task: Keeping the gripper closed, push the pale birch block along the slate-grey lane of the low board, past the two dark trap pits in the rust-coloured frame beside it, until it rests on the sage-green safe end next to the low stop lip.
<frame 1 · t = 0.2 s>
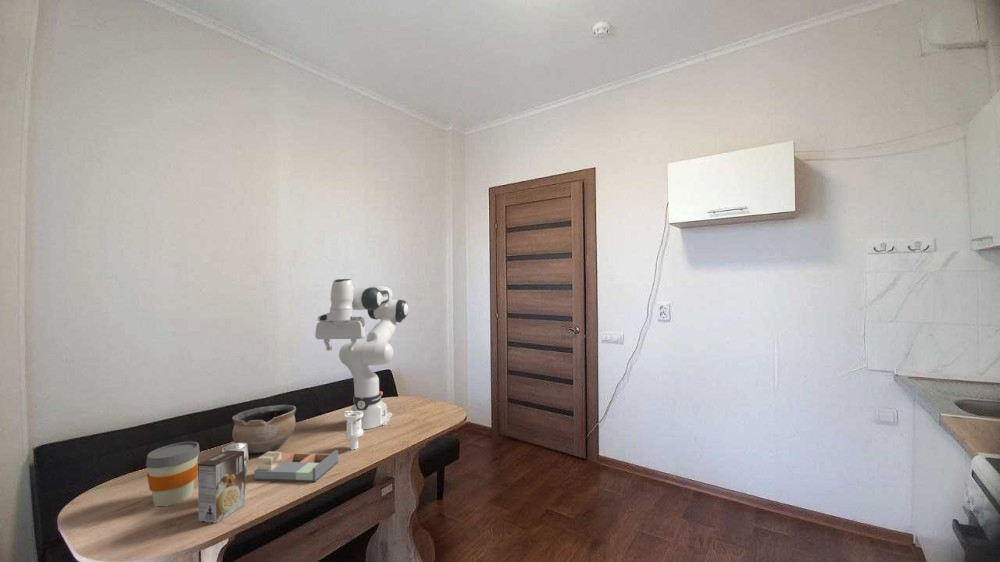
hand: (339, 350, 152), 39 cm above the table, tool pointing down, fingers open, 8 cm apart
reusable coffee cup: (173, 499, 114), on the table
birch block: (269, 466, 127), point 3 cm above the table, touching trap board
coffee box: (222, 513, 106), on the table
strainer: (354, 448, 148), on the table
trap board: (298, 470, 130), on the table
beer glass: (235, 495, 115), on the table
ceramic bowl: (265, 449, 150), on the table
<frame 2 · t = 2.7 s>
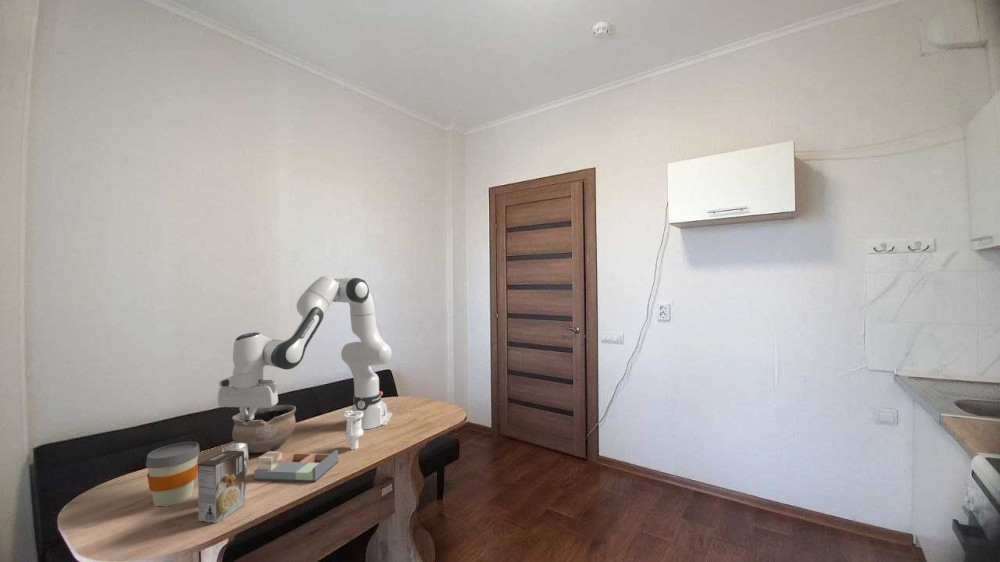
hand: (248, 419, 129), 19 cm above the table, tool pointing down, fingers closed
nothing on the table moved.
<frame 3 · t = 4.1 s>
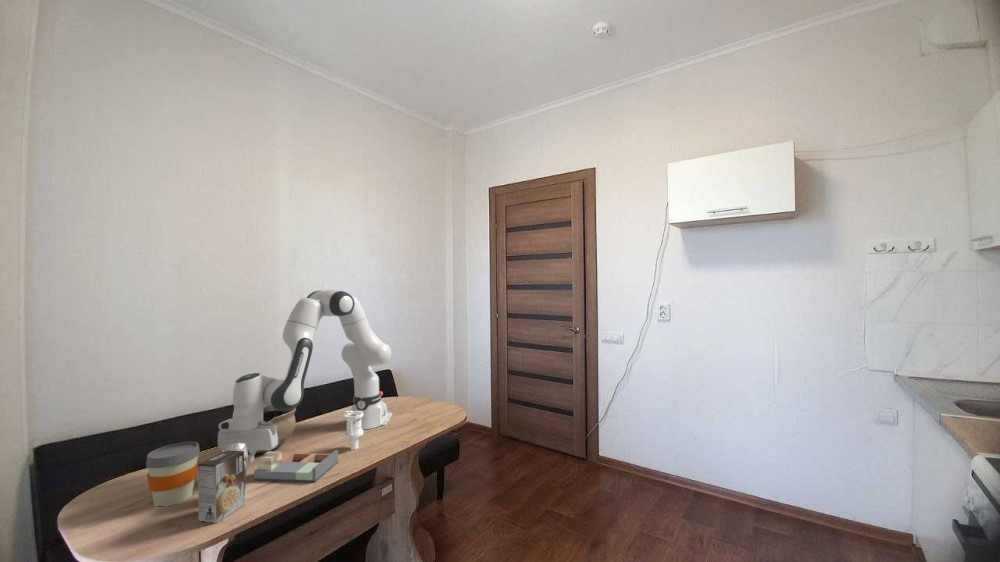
hand: (248, 461, 128), 5 cm above the table, tool pointing down, fingers closed
nothing on the table moved.
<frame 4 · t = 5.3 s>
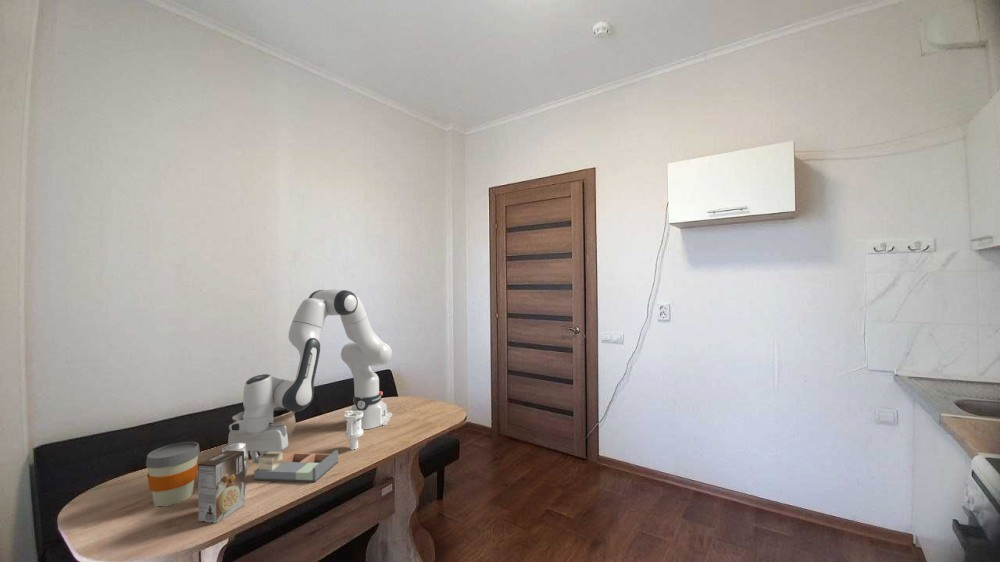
hand: (258, 462, 128), 4 cm above the table, tool pointing down, fingers closed
birch block: (270, 466, 127), point 3 cm above the table, touching gripper, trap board
everything else where it was.
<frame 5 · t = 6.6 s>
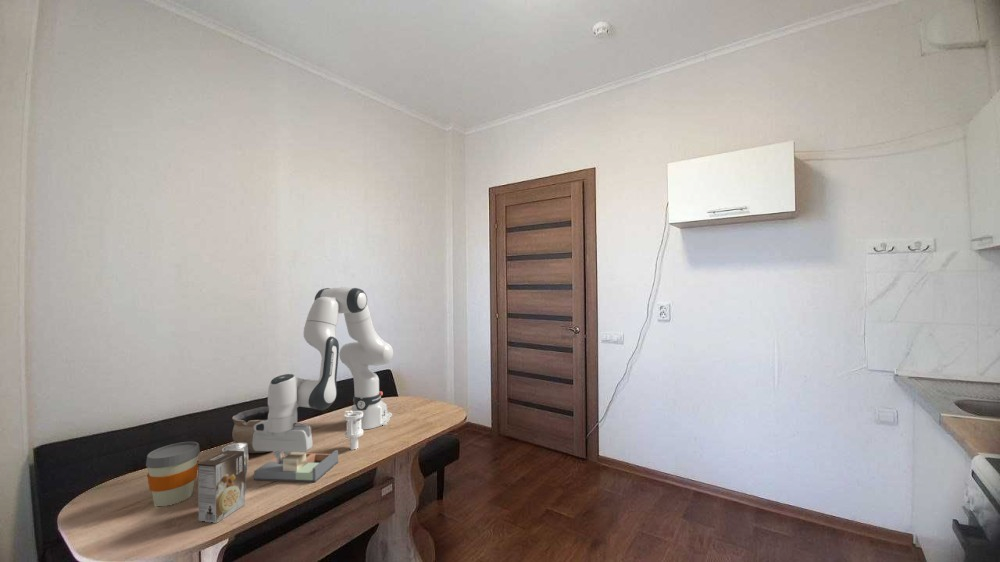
hand: (282, 463, 127), 4 cm above the table, tool pointing down, fingers closed
birch block: (294, 467, 126), point 3 cm above the table, touching gripper, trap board
everything else where it was.
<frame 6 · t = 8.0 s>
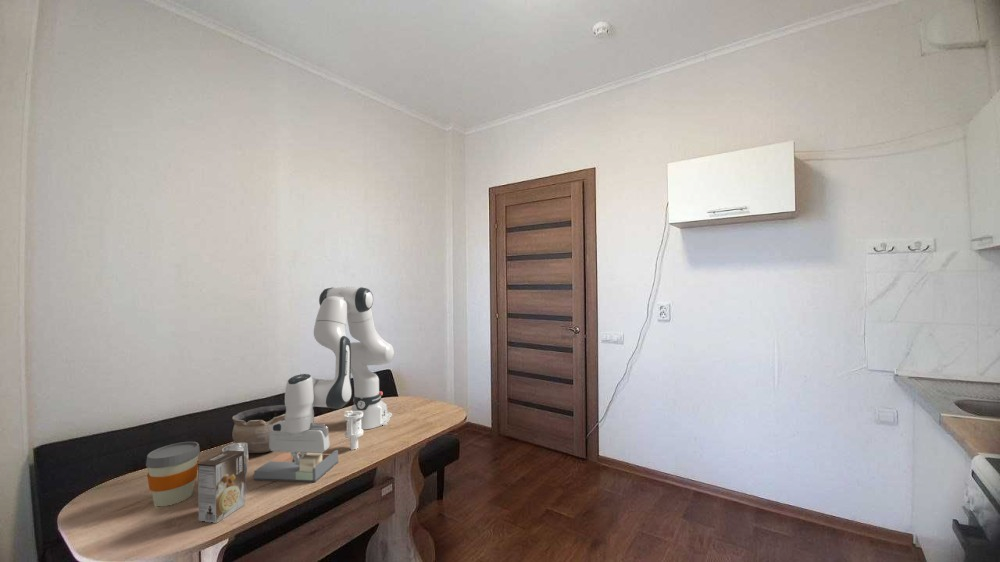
hand: (299, 463, 126), 4 cm above the table, tool pointing down, fingers closed
birch block: (311, 468, 125), point 3 cm above the table, touching gripper, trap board
everything else where it was.
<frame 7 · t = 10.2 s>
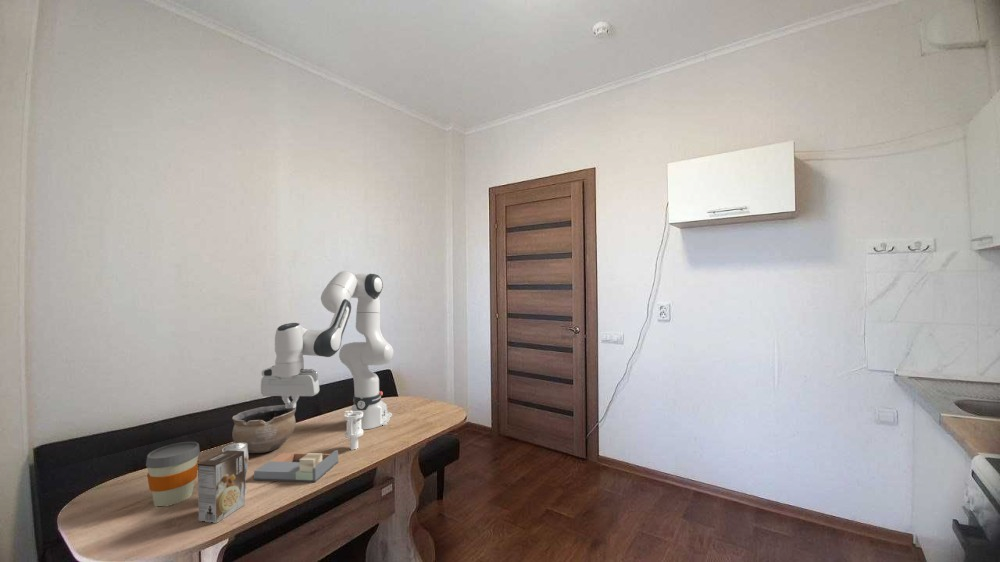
hand: (290, 407, 131), 22 cm above the table, tool pointing down, fingers closed
birch block: (311, 468, 125), point 3 cm above the table, touching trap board
everything else where it was.
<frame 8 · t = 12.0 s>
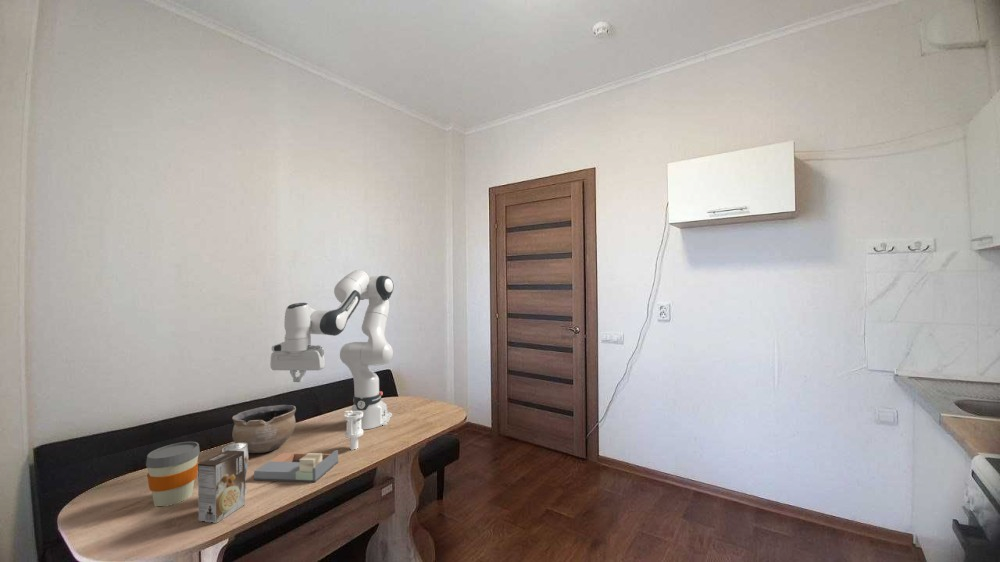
hand: (298, 381, 140), 29 cm above the table, tool pointing down, fingers closed
nothing on the table moved.
at the end: birch block 0.5 cm from the target spot on the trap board, point 3.0 cm above the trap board's base; birch block tilted 0° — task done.
